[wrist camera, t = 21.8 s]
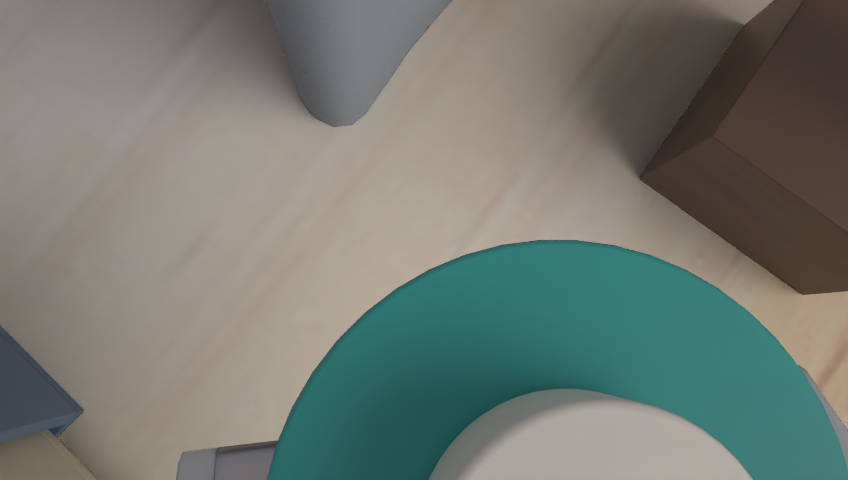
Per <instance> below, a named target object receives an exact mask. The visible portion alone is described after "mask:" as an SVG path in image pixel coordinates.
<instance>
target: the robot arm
mask: <svg viewBox="0 0 848 480" xmlns="http://www.w3.org/2000/svg"><path fill="white" fill-rule="evenodd" d="M798 366H799V365H798ZM799 368H800V369H801V370H802V372H803V373H804V375H805V377H806V378H807V380H808V382H809V383H810V385H811V386H812V388H813V390H814V391H815V393H816V395H817V396H818V398H819V399H820V401H821V403H822V404H823V407H824V409H825V411H826V413H827V415H828V418H829V420H830V422H831V424H832V426H833V428H834V431H835V433H836V435H837V437H838V439H839V442H840V445H841V449H842V452H843V455H844V458H845V461H846V464H847V467H848V430H847V429H846V427H845V426H844V424H843V423H842V421H841V420H840V418H839V417H838V415H837V414H836V413H835V411H834V410H833V408H832V407H831V405H830V404H829V402H828V401H827V400H826V398H825V397H824V395H823V394H822V392H821V391H820V389H819V388H818V387H817V385H816V384H815V382H814V381H813V379H812V378H811V376H810V375H809V373H808V372H807V371H806V370H805V369H804V368H802V367H801V366H799ZM277 442H278V441H270V442H261V443H252V444H244V445H235V446H226V447H218V448H210V449H203V450H195V451H188V452H183V453H182V455H181V458H180V460H179V463H178V468H177V476H176V480H267V476H268V473H269V469H270V465H271V462H272V458H273V455H274V451H275V448H276V444H277Z"/></svg>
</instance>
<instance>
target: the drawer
mask: <svg viewBox="0 0 848 480" xmlns="http://www.w3.org/2000/svg"><path fill="white" fill-rule="evenodd" d="M0 480H97V479H96V478H95V477H94V476H93V475H92V474H91V473H90V472H89V471H88V470H87V469H86V468H85V467H84V466H83V465H82V464H81V462H80V461H79V460H78V459H77V458H76V457H75V456H74V455H73V454H72V453H71V452H70V451H69V450H68V449H67V448H66V447H65V446H64V445H63V444H62V443H61V442H60V441H59V440H58V439H57V438H56V437H55V436H54V435H53V434H52V433H51V432H50V431H49V430H44V431H41V432H38V433H34V434H31V435H28V436H24V437H21V438H17V439H14V440H11V441H7V442H4V443H1V444H0Z"/></svg>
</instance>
